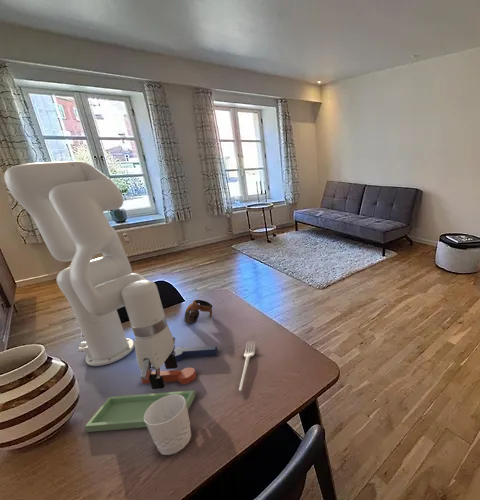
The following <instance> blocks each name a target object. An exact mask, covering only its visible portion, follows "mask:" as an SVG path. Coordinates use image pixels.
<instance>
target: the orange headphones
mask: <svg viewBox="0 0 480 500" xmlns="http://www.w3.org/2000/svg"><path fill="white" fill-rule="evenodd" d="M212 308H213V305H212V303H210V302H208V301H206V300H203V299H193V301H192V303H190V304H189V305H188V306H186V309H185V312H184V320H183V322H185V324H187V325H191V324H196V323H197V322H198V318H199V316H200V312H205V313H206V312H207V313H209V318H211V317H213V309H212Z"/></svg>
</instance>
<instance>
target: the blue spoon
mask: <svg viewBox="0 0 480 500" xmlns="http://www.w3.org/2000/svg"><path fill="white" fill-rule="evenodd" d="M174 351H175V356H174V357H175V358H176V361H177V362H178V361H182V360H183V359H189V358H202V357H216V356H217V354H218V353H219V349H218V346H217V345H209V346H208V345H207V346H195V347H194V346H192V347H191V346H190V347H185V346H177V347H175V348H174Z"/></svg>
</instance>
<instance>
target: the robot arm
mask: <svg viewBox="0 0 480 500" xmlns="http://www.w3.org/2000/svg"><path fill="white" fill-rule="evenodd" d="M3 177H4V183H5V185H6V187H7V190H8V191H9V194H11V196H12V197H13V198H14V199H15V200H16V202H17V203H18V204H19V205H20V206H21V207H22V208H24V210H25V211H26V212H27V213H28V214H29V215H30V216H31V218H32V220H33V221H34V224H35V225H36V227H37V229H38V232H39V233H40V235H41V237H42V240H43V242H44V243H45V245H46V248H47V249H48V252H49V253H50V255H51V256H52V257H53V258H54V259H55V260H56V261H58V262H63V263H65V262H66V263H67V262H71V263H70V264H69V265H70V266H68V267H65V268H64V269H62V270H61V271H60V272H58V274H57V275H56V284H57V286H58V288H59V290H60V291H61V292H62V294H63V295H64V297H65V298H66V300H67V302H68V303H69V305H70V307H71V309H72V312H73V314H74V316H75V320H76V321H77V324H78V327H79V328H80V331H81V334H82V336H83V338H84V341H81V342H79V345H78V346H79V347H78V349H77V352H78V353H84V352H85V353H86V356H85V362H86V364H87V365H88V366H91V367H100V366H107V365H109V364H112V363H116V362H117V361H120V360H121V359H123V358H125V357H126V356H127V355H129V354H131V352H132V351H133V350H134V352H135V356H136V360H137V364H138V368H139V370H140V371H141V373H140V379H141V380H142V379H147V380H149V381H150V383H149V384H150V386H151V389H152V390H161V389H162V390H163V389H165V388H166V384H165V382H164V381H163V377H162V376H160V371H161V367H162V366H163V365H164V366H165V370H172V369H173V370H177V368H178V367H179V366H178V361H176V358H175V357H174V356H175V351H174V349H175V348H176V346H175V343H176V337H174V336H173V334H172V332H171V329H170V327H169V325H168V321H167V318H166V314H165V311H164V307H163V304H162V303H163V302H162V300H161V298H160V292H159V289H158V286H157V284H156V283H155V282H154V281H152V280H149V279H146V277H145V276H143V275H141V274H139V273H137V272H134V273H133V270H132V269H133V268H132V266H131V263H130V260H129V258H128V255H127V253H126V251H125V249H124V246H123V244H122V241H121V239H120V236H119V234H118V233H117V231H116V229H115V228H114V227H113V226H112V225H111V224H110V222H109V220H108V219H107V216H106V215H105V213H104V212H109V211H114V210H115V211H116V210H118V209H120V208H122V207H123V205H124V197H123V193H122V192H121V190H120V188H119V187H118V185H117V184H116V183H115V182H114V181H113V180H112V179H111V178H109V177H108V176H107V175H106V174H104V173H103V172H102V171H100V170H99V169H97V167H95V166H93V165H92V164H91V163H89V162H87V161H82V160H71V161H70V160H68V161H49V162H47V161H46V162H44V161H43V162H32V163H31V162H30V163H22V164H16V165H14V166H11V167H9V168H7V169H6V170H5V171H4V175H3ZM98 254H102V256H100V257H97V258H94V257H95V256H96V255H98ZM123 307H124V308H125V311H126V313H127V316H128V317H127V318H128V320H129V322H130V325H131V329H132V332H133V334H134V337H135V338H134V340H133V339H132V338H129V337H127V335H126V333H125V329H124V327H123V324H122V321H121V318H120V315H119V312H118V310H120V309H121V308H123ZM154 370H155V372H156V374H152V372H153V371H154Z"/></svg>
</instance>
